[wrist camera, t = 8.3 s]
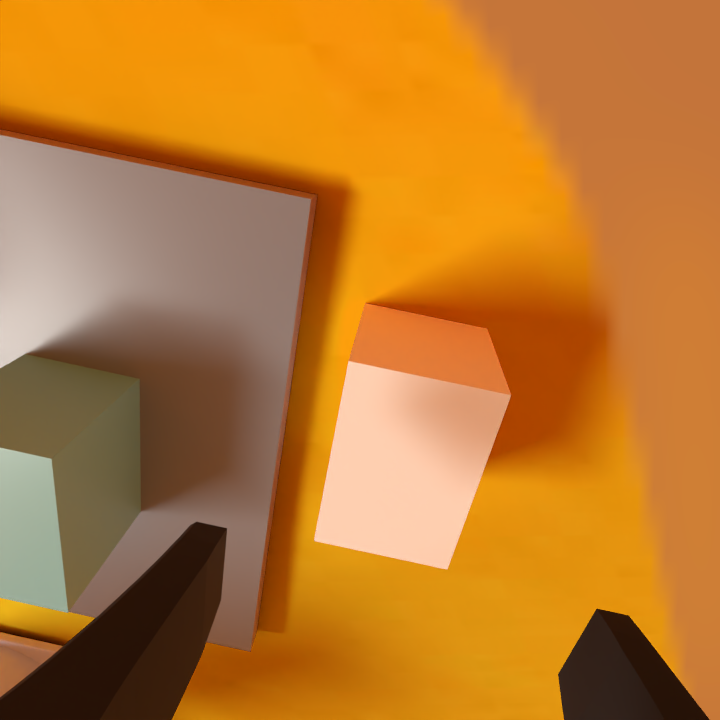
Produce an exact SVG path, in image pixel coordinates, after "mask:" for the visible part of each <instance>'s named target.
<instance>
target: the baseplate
mask: <svg viewBox="0 0 720 720" xmlns="http://www.w3.org/2000/svg"><path fill="white" fill-rule="evenodd" d="M316 203H317V195H316V194H311V193H306V192H301V191H297V190H292V189H287V188H282V187H277V186H272V185H268V184H263V183H258V182H253V181H248V180H243V179H238V178H234V177H229V176H224V175H219V174H214V173H209V172H205V171H200V170H195V169H190V168H185V167H180V166H176V165H171V164H166V163H161V162H156V161H151V160H147V159H142V158H137V157H132V156H127V155H122V154H117V153H113V152H108V151H103V150H98V149H93V148H88V147H84V146H79V145H74V144H69V143H64V142H59V141H55V140H50V139H45V138H40V137H35V136H30V135H26V134H21V133H16V132H11V131H6V130H1V129H0V368H2V367H3V366H5V365H7V364H9V363H10V362H12V361H14V360H16V359H17V358H19V357H21V356H22V355H24V354H28V355H32V356H37V357H41V358H46V359H51V360H55V361H60V362H64V363H69V364H74V365H78V366H83V367H87V368H92V369H97V370H101V371H106V372H110V373H115V374H120V375H124V376H129V377H133V378H138V379H140V472H141V512H140V513H139V515H138V516H137V517H136V519H135V520H134V522H133V523H132V524H131V526H130V527H129V529H128V530H127V531H126V533H125V534H124V536H123V537H122V538H121V540H120V541H119V543H118V544H117V545H116V547H115V548H114V549H113V551H112V552H111V554H110V555H109V556H108V558H107V559H106V561H105V562H104V563H103V565H102V566H101V568H100V569H99V570H98V572H97V573H96V575H95V576H94V577H93V579H92V580H91V582H90V583H89V584H88V586H87V587H86V589H85V590H84V591H83V593H82V594H81V596H80V597H79V598H78V600H77V601H76V602H75V604H74V605H73V607H72V608H71V609H70V611H69V612H72V613H77V614H81V615H86V616H90V617H95V618H96V617H97V616H99V615H100V614H101V613H102V612H103V611H104V610H105V609H106V608H107V607H108V606H109V605H111V604H112V603H113V602H114V601H115V600H116V599H117V598H118V597H119V596H120V595H121V594H122V593H123V592H124V591H126V590H127V589H128V588H129V587H130V586H131V585H132V584H133V583H134V582H135V581H136V580H137V579H138V578H139V577H140V576H141V575H142V574H143V573H144V572H145V571H146V570H148V569H149V568H150V567H151V566H152V565H153V564H154V563H155V562H156V561H157V560H158V559H159V558H160V557H161V556H162V555H163V554H164V553H165V552H166V550H167V549H168V548H169V547H170V546H171V545H172V544H173V543H174V542H175V541H176V540H177V539H178V538H179V537H180V536H181V535H182V534H183V533H184V531H185V530H186V529H187V528H188V527H189V526H190V525H191V524H193V523H195V522H201V523H205V524H210V525H215V526H219V527H224V528H227V537H226V549H225V561H224V572H223V584H222V596H221V602H220V605H219V608H218V610H217V613H216V616H215V619H214V622H213V625H212V627H211V630H210V633H209V636H208V639H207V641H206V642H209V643H213V644H218V645H222V646H227V647H231V648H236V649H240V650H245V651H250V652H251V648H252V645H253V642H254V639H255V636H256V633H257V627H258V620H259V612H260V605H261V598H262V591H263V584H264V577H265V569H266V562H267V555H268V548H269V541H270V533H271V526H272V519H273V512H274V505H275V497H276V490H277V483H278V476H279V469H280V461H281V454H282V447H283V440H284V433H285V426H286V418H287V411H288V404H289V397H290V390H291V382H292V375H293V368H294V361H295V354H296V346H297V339H298V332H299V325H300V318H301V311H302V303H303V296H304V289H305V282H306V275H307V267H308V260H309V253H310V246H311V239H312V231H313V224H314V217H315V210H316Z"/></svg>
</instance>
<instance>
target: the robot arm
mask: <svg viewBox="0 0 720 720" xmlns="http://www.w3.org/2000/svg"><path fill="white" fill-rule="evenodd" d="M226 537H227V528H224V527H219V526H215V525H210V524H205V523H201V522H195V523H193V524H191V525H190V526H189V527H188V528H187V529H186V530H185V531H184V533H183V534H182V535H181V536H180V537H179V538H178V539H177V540H176V541H175V542H174V543H173V544H172V545H171V546H170V547H169V548H168V549H167V550H166V552H165V553H164V554H163V555H162V556H161V557H160V558H159V559H158V560H157V561H156V562H155V563H154V564H153V565H152V566H151V567H150V568H149V569H148V570H146V571H145V572H144V573H143V574H142V575H141V576H140V577H139V578H138V579H137V580H136V581H135V582H134V583H133V584H132V585H131V586H130V587H129V588H128V589H127V590H126V591H124V592H123V593H122V594H121V595H120V596H119V597H118V598H117V599H116V600H115V601H114V602H113V603H112V604H111V605H109V606H108V607H107V608H106V609H105V610H104V611H103V612H102V613H101V614H100V615H99V616H97V617H96V618H95V619H94V620H93V621H92V622H91V623H90V624H88V625H87V626H86V627H85V628H84V629H82V630H81V631H80V632H79V633H78V634H77V635H75V636H74V637H73V638H72V639H71V640H70V641H68V642H67V643H66V644H65V645H64V646H61V645H56V644H52V643H47V642H43V641H38V640H33V639H29V638H24V637H20V636H15V635H11V634H6V633H2V632H0V720H172V718H173V715H174V713H175V711H176V709H177V707H178V705H179V703H180V701H181V698H182V696H183V694H184V692H185V690H186V688H187V685H188V683H189V681H190V679H191V677H192V675H193V673H194V670H195V668H196V666H197V664H198V662H199V660H200V657H201V655H202V652H203V650H204V647H205V644H206V641H207V639H208V636H209V633H210V630H211V627H212V625H213V622H214V619H215V616H216V613H217V610H218V608H219V605H220V602H221V596H222V584H223V572H224V561H225V549H226ZM558 676H559V684H560V692H561V700H562V708H563V714H564V720H709V718H708V717H707V716H706V714H705V713H704V712H703V711H702V709H701V708H700V707H699V706H698V705H697V703H696V702H695V700H694V699H693V698H692V696H691V695H690V694H689V693H688V691H687V690H686V689H685V687H684V686H683V685H682V684H681V682H680V681H679V680H678V678H677V677H676V676H675V674H674V673H673V672H672V671H671V669H670V668H669V667H668V665H667V664H666V663H665V661H664V660H663V659H662V658H661V656H660V655H659V654H658V652H657V651H656V650H655V648H654V647H653V646H652V645H651V643H650V642H649V641H648V639H647V638H646V637H645V636H644V634H643V633H642V632H641V630H640V629H639V628H638V627H637V625H636V624H635V623H634V622H633V621H632V619H631V618H630V617H629V616H628V615H623V614H619V613H614V612H610V611H605V610H600V609H596V611H595V613H594V614H593V616H592V618H591V619H590V621H589V623H588V624H587V626H586V628H585V630H584V631H583V633H582V635H581V636H580V638H579V640H578V641H577V643H576V645H575V647H574V648H573V650H572V652H571V653H570V655H569V657H568V659H567V660H566V662H565V664H564V665H563V667H562V669H561V670H560V672H559V674H558Z"/></svg>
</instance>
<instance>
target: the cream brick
mask: <svg viewBox="0 0 720 720" xmlns="http://www.w3.org/2000/svg"><path fill="white" fill-rule="evenodd" d="M510 398H511V393H510V390H509V387H508V385H507V382H506V379H505V376H504V374H503V371H502V368H501V365H500V362H499V360H498V357H497V354H496V351H495V348H494V346H493V343H492V340H491V337H490V335H489V332H488V329H487V328H482V327H477V326H473V325H468V324H463V323H458V322H454V321H449V320H444V319H439V318H434V317H430V316H425V315H420V314H415V313H410V312H406V311H401V310H396V309H391V308H387V307H382V306H377V305H372V304H367V303H365V306H364V309H363V313H362V316H361V320H360V323H359V327H358V330H357V334H356V337H355V341H354V344H353V348H352V351H351V355H350V358H349V362H348V367H347V372H346V378H345V383H344V388H343V393H342V398H341V403H340V409H339V414H338V419H337V424H336V429H335V435H334V440H333V445H332V450H331V455H330V461H329V466H328V471H327V476H326V481H325V486H324V492H323V497H322V502H321V507H320V512H319V518H318V523H317V528H316V533H315V538H314V541H317V542H322V543H327V544H331V545H336V546H340V547H345V548H350V549H354V550H359V551H364V552H368V553H373V554H378V555H382V556H387V557H392V558H396V559H401V560H405V561H410V562H415V563H419V564H424V565H429V566H433V567H438V568H443V569H448V566H449V564H450V561H451V558H452V555H453V553H454V550H455V547H456V545H457V542H458V539H459V536H460V534H461V531H462V528H463V525H464V523H465V520H466V517H467V515H468V512H469V509H470V506H471V504H472V501H473V498H474V496H475V493H476V490H477V487H478V485H479V482H480V479H481V476H482V474H483V471H484V468H485V466H486V463H487V460H488V457H489V455H490V452H491V449H492V447H493V444H494V441H495V438H496V436H497V433H498V430H499V427H500V425H501V422H502V419H503V417H504V414H505V411H506V408H507V406H508V403H509V400H510Z"/></svg>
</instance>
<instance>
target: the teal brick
mask: <svg viewBox="0 0 720 720" xmlns="http://www.w3.org/2000/svg"><path fill="white" fill-rule="evenodd" d="M140 512H141V472H140V379H138V378H133V377H129V376H124V375H120V374H115V373H110V372H106V371H101V370H97V369H92V368H87V367H83V366H78V365H74V364H69V363H64V362H60V361H55V360H51V359H46V358H41V357H37V356H32V355H28V354H24V355H22V356H21V357H19V358H17V359H16V360H14V361H12V362H10V363H9V364H7V365H5V366H3V367H2V368H0V598H4V599H9V600H13V601H18V602H22V603H27V604H31V605H36V606H40V607H45V608H49V609H54V610H58V611H63V612H67V613H68V612H69V611H70V609H71V608H72V607H73V605H74V604H75V602H76V601H77V600H78V598H79V597H80V596H81V594H82V593H83V591H84V590H85V589H86V587H87V586H88V584H89V583H90V582H91V580H92V579H93V577H94V576H95V575H96V573H97V572H98V570H99V569H100V568H101V566H102V565H103V563H104V562H105V561H106V559H107V558H108V556H109V555H110V554H111V552H112V551H113V549H114V548H115V547H116V545H117V544H118V543H119V541H120V540H121V538H122V537H123V536H124V534H125V533H126V531H127V530H128V529H129V527H130V526H131V524H132V523H133V522H134V520H135V519H136V517H137V516H138V515H139V513H140Z"/></svg>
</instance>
